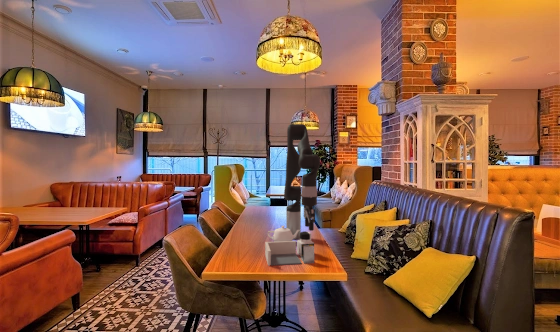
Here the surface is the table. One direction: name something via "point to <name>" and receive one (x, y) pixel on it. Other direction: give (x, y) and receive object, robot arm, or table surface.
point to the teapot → (282, 234)
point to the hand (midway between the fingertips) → (309, 228)
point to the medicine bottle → (304, 242)
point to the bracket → (308, 254)
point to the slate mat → (284, 259)
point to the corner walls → (279, 249)
